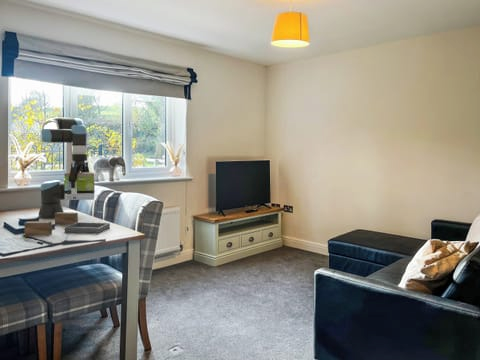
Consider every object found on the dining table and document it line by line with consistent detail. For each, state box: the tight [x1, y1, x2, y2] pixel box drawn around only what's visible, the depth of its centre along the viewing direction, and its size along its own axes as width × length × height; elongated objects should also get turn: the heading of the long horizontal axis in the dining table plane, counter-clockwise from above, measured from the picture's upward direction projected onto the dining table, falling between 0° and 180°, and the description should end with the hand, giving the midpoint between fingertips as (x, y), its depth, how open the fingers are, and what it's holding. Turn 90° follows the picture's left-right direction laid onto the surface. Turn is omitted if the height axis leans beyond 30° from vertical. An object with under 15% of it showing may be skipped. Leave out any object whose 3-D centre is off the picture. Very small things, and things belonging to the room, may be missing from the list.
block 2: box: [54, 211, 79, 226], centre depth 231 cm, size 4×12×7 cm, turn 85°
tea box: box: [63, 171, 96, 201], centre depth 213 cm, size 15×10×15 cm
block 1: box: [23, 220, 53, 237], centre depth 203 cm, size 4×12×7 cm, turn 97°
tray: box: [64, 221, 111, 235], centre depth 215 cm, size 14×19×3 cm
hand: (80, 192), depth 213 cm, fingers closed on tea box, 12 cm apart
